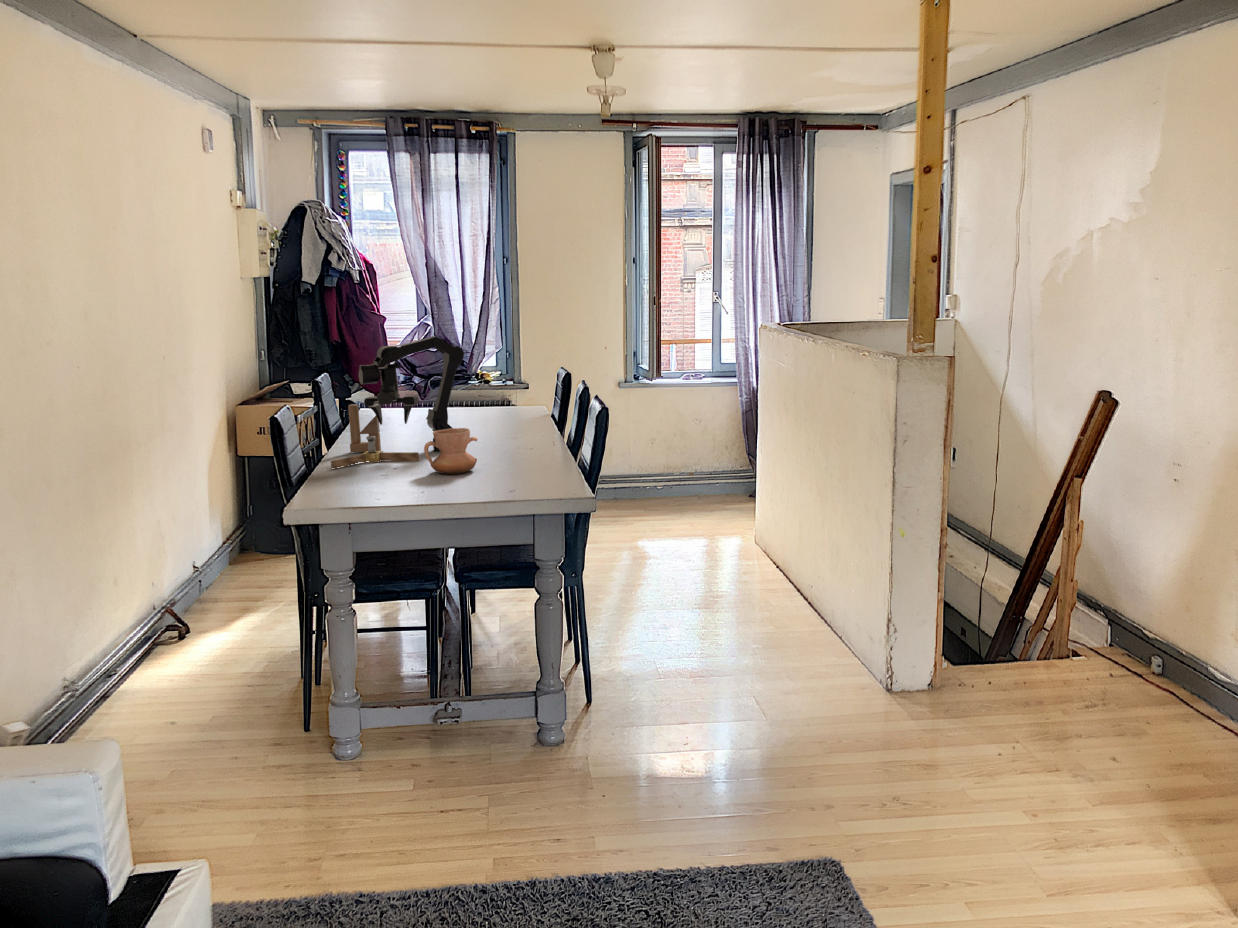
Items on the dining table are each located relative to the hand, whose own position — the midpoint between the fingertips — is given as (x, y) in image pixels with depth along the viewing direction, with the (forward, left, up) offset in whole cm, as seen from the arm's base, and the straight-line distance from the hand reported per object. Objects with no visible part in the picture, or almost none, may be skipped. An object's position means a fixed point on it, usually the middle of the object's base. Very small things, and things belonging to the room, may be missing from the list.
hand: (393, 424), depth 372 cm
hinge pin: (+5, +10, -12) cm, 16 cm away
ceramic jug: (-30, +29, -12) cm, 43 cm away
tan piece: (+1, +16, -12) cm, 20 cm away
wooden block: (+14, -7, -12) cm, 20 cm away
